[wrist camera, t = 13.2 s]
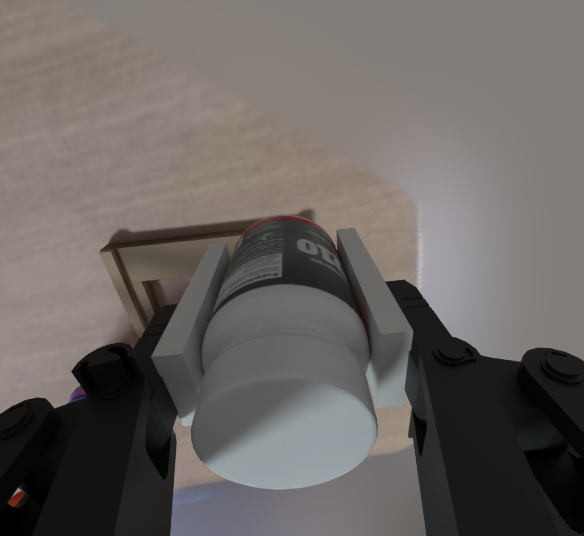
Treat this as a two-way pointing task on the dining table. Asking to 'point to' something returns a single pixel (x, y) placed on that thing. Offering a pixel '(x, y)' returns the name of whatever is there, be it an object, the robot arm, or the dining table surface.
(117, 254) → the wooden frame
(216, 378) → the pill bottle
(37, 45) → the dining table surface
